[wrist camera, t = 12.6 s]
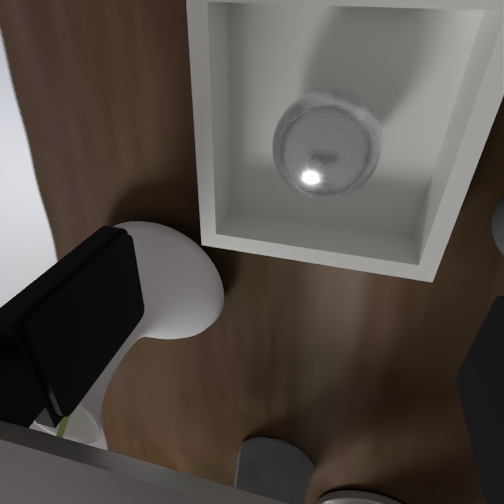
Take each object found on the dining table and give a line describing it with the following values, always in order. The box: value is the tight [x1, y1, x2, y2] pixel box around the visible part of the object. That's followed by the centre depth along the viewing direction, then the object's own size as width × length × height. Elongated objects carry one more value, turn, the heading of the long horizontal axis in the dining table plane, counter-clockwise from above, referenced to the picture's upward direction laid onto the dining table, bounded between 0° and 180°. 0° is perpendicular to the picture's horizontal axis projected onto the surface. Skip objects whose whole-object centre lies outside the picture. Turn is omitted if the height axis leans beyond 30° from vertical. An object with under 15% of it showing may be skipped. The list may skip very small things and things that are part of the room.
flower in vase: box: [34, 221, 224, 444], centre depth 22 cm, size 13×11×25 cm
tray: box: [186, 0, 504, 282], centre depth 20 cm, size 14×14×4 cm
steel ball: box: [272, 88, 383, 201], centre depth 19 cm, size 6×6×6 cm
